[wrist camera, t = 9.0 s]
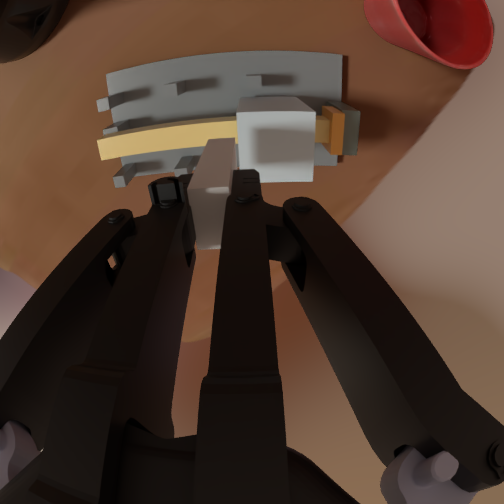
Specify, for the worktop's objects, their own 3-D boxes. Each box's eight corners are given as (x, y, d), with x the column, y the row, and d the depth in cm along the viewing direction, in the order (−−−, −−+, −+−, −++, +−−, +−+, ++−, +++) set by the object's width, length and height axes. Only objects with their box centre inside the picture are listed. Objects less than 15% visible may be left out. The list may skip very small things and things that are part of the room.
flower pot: (397, 78, 23) (451, 94, 15) (326, 1, 18) (362, -21, 10) (450, 34, 18) (509, 41, 10) (389, -41, 13) (438, -62, 6)
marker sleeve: (239, 97, 23) (236, 112, 16) (295, 96, 23) (315, 111, 16) (242, 148, 26) (240, 183, 19) (295, 146, 26) (312, 181, 19)
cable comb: (110, 73, 22) (76, 80, 17) (340, 55, 22) (366, 55, 16) (128, 174, 29) (104, 202, 24) (335, 162, 29) (355, 189, 24)
